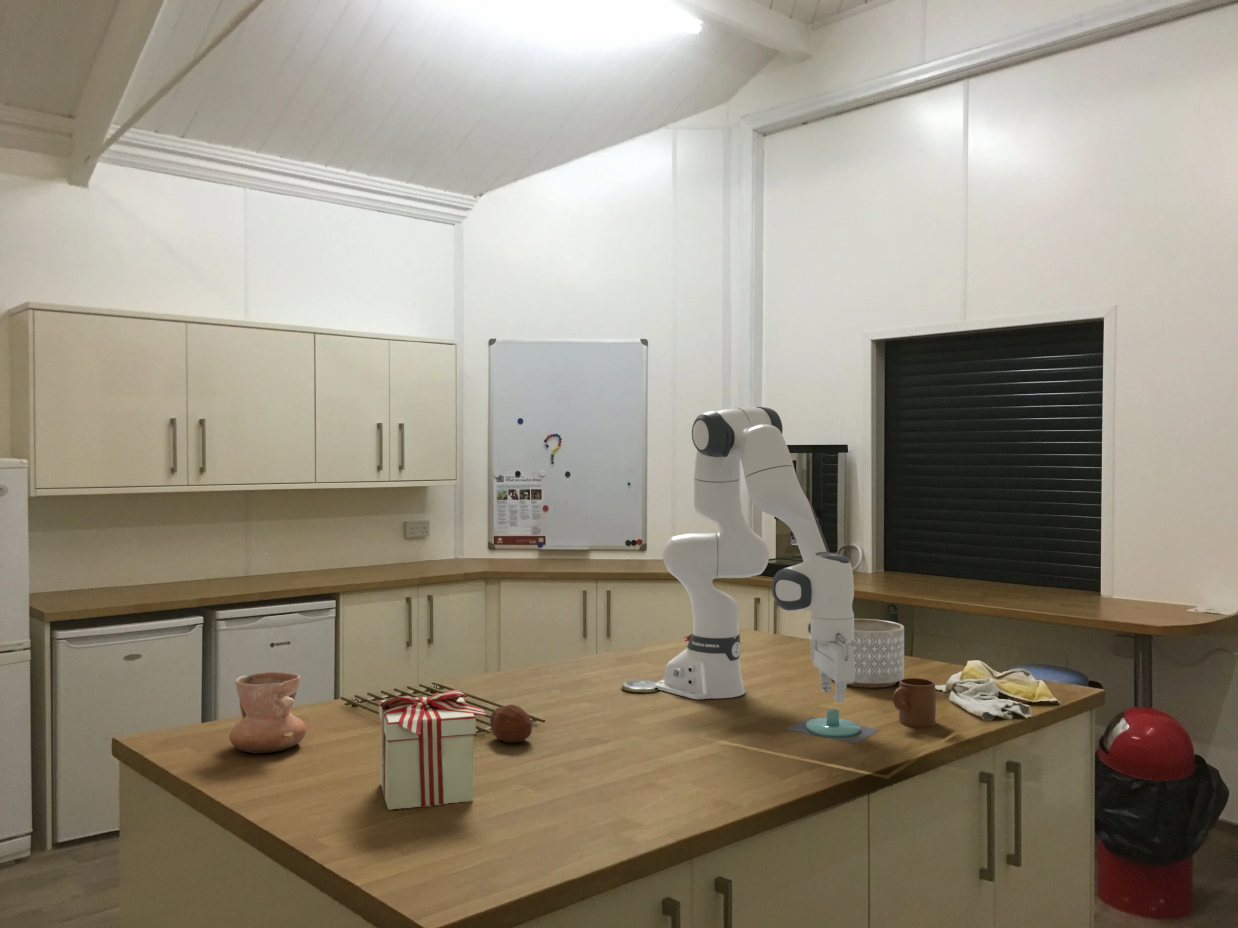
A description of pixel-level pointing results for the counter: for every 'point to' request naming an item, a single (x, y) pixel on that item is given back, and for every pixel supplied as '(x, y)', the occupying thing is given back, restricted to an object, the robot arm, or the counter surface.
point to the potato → (511, 724)
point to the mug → (916, 702)
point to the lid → (832, 725)
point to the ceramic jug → (267, 713)
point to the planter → (877, 653)
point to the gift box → (427, 749)
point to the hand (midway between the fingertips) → (832, 696)
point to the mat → (856, 738)
